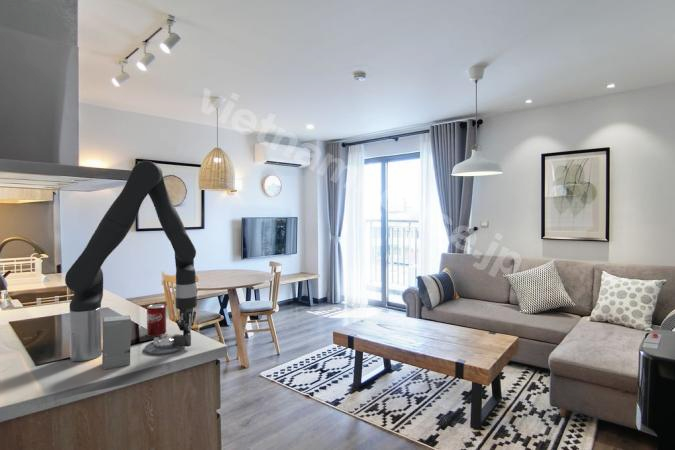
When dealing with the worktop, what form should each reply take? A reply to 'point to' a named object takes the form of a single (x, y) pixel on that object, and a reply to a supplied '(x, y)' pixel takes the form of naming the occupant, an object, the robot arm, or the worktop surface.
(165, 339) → the small handled pan
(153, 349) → the cap plate
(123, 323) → the skincare box
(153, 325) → the soda can
